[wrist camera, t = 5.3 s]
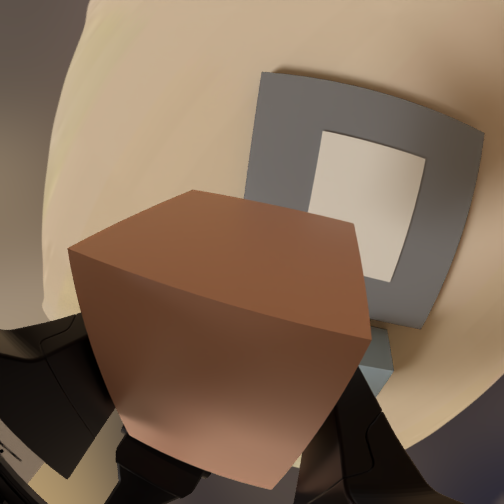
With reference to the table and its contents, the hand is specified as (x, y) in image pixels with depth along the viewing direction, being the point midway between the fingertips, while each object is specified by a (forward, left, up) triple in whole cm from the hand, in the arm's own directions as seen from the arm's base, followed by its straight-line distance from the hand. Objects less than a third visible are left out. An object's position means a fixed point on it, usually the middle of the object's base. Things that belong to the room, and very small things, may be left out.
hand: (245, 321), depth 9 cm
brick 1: (0, 0, -1) cm, 1 cm away
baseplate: (+2, -4, -12) cm, 13 cm away
